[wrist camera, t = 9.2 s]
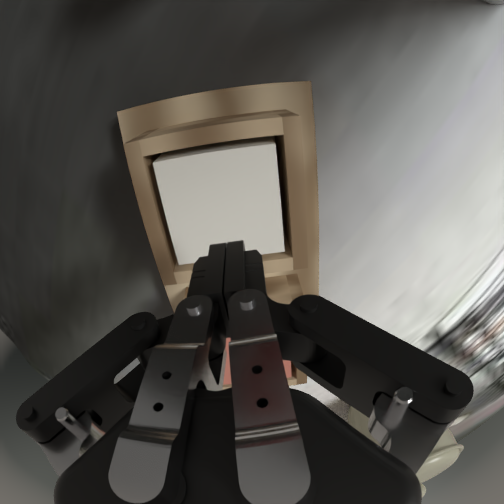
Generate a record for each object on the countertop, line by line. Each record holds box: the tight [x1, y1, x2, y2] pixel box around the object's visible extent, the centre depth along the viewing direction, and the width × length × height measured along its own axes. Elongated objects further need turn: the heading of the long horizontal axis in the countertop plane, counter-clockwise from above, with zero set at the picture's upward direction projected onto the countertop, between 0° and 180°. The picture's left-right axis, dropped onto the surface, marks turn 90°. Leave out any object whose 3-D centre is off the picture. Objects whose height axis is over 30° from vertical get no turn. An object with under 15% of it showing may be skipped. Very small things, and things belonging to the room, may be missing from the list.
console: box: [117, 81, 319, 390], centre depth 24 cm, size 14×28×7 cm, turn 7°
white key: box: [153, 136, 285, 265], centre depth 19 cm, size 7×7×3 cm
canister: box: [348, 406, 464, 497], centre depth 35 cm, size 18×18×21 cm
